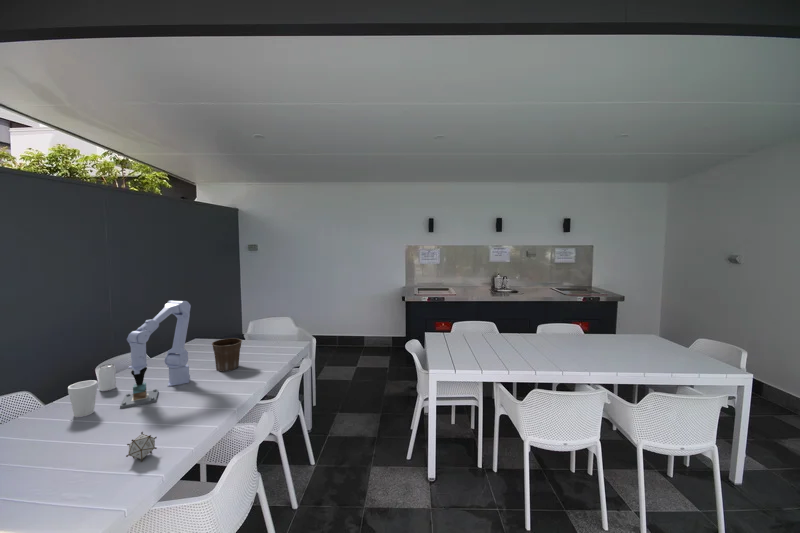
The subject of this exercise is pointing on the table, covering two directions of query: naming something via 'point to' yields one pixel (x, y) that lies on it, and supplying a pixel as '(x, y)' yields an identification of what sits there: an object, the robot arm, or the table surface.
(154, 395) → the plate
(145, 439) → the game die
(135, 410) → the table surface
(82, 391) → the foam cup
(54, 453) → the table surface
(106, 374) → the grey cylinder
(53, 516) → the table surface
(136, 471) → the table surface
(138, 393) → the teal and brown block
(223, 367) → the plant pot
